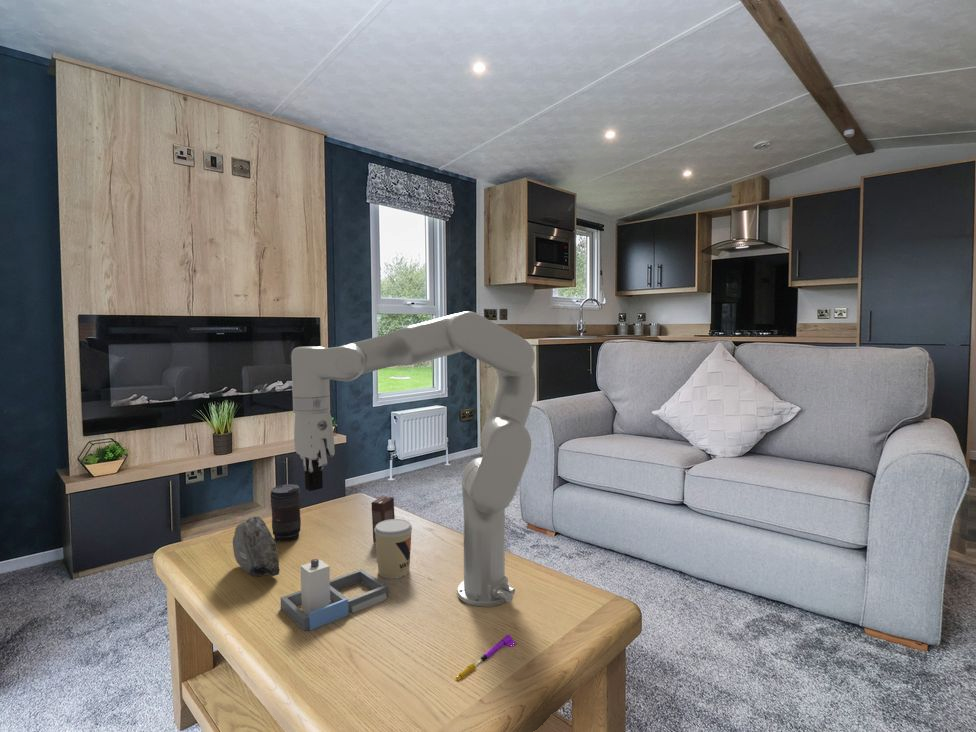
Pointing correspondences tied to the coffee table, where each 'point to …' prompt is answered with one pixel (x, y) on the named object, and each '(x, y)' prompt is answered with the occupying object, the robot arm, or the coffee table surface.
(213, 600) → the coffee table surface
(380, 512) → the box
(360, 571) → the divided sorting tray
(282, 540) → the camera lens
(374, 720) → the coffee table surface
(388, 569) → the cream lidded canister
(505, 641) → the purple and yellow tool
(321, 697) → the coffee table surface
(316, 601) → the plug
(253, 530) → the decorative rock
